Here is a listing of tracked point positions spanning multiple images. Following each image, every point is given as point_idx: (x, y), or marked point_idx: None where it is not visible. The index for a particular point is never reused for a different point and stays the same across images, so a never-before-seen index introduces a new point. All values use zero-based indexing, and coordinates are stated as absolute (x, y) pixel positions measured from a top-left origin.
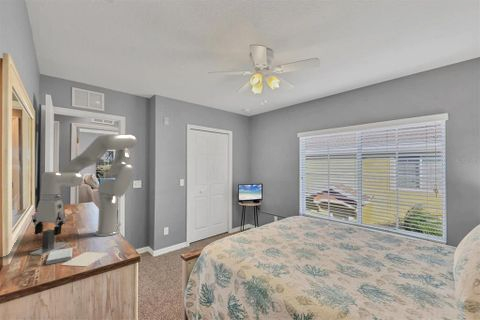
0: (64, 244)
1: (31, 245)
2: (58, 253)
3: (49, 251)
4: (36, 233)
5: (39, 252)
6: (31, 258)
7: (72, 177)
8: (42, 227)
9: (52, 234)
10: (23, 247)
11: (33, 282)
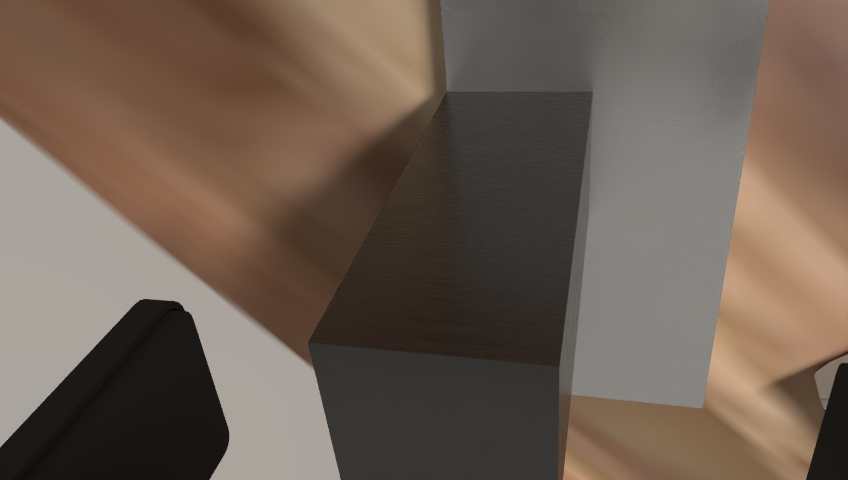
0: None
1: (39, 27)
2: None
3: (716, 293)
4: (221, 445)
5: (605, 370)
6: (637, 465)
7: None
8: (99, 429)
9: (569, 319)
10: (47, 131)
11: None
